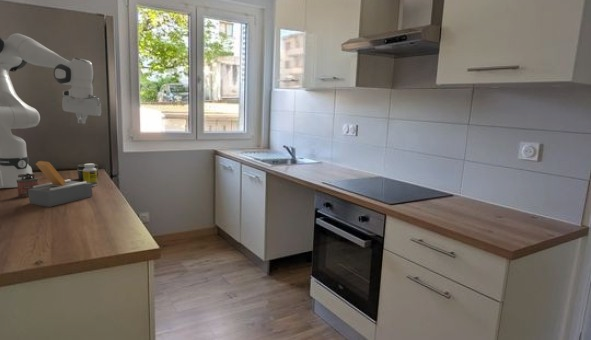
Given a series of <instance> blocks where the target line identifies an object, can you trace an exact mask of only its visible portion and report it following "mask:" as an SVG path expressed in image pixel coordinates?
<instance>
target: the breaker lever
mask: <svg viewBox="0 0 591 340" xmlns="http://www.w3.org/2000/svg"><path fill="white" fill-rule="evenodd" d="M35 165H36V166H37V168H38V169H39V170H40V171H41V172H42V173H43V175H44V176H45V177H46V178H47V179H48V181H50V183H52V184H53V185H59V186H64V185H65V184H66V182H65V180H66V179H64V178H63V176H61V175H60V173H59V172H58V171H57V170H56V168H55V167H54V166H53V165H52V163H51V162H49V161H43V160H39V161H37V162H36V163H35Z"/></svg>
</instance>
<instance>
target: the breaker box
mask: <svg viewBox="0 0 591 340" xmlns="http://www.w3.org/2000/svg"><path fill="white" fill-rule="evenodd" d="M64 180H65V182H66V184H65V185H64V186H59V185H53V184H52V183H51V182H47V183H42V184H38V185H36V186H33V189H28V192H29V196H28V201H29V205H30V204H31V205H36V206H41V207H42V206H43V207H48V208H50V207H55V206H59V205H62V204H67V203H70V202H75V201H79V200H80V201H81V200H84V199H86V198H87V199H88V198H91V197H93V188H92V187H93V186H92V184H91V183H87V182H86V181H85V182H83V181H75V180H72V179H68V178H67V179H64Z"/></svg>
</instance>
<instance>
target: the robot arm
mask: <svg viewBox="0 0 591 340" xmlns="http://www.w3.org/2000/svg"><path fill="white" fill-rule="evenodd" d="M27 63H28V64H31V65H33V66H37V67H43V68H52V69H54V70H53V78H54V79H55V81H56V82H57V83H58V84H61V85H64V86H65V85H66V86H71V88H69V89H66V90H62V96H63V97H62V100H61V101H62V105H61V107H62V110H63V112H68V113H72V114H75V116H76V118H77V124H82V125H85V124H86V123H87V119H88V117H89V116H95V117H101V115H102V103H101V98H100V97H99V96H98V95H94V93H93V92H94V87H93V83H94V80H95V74H94V69H93V68H94V67H93V64H92V62H91V61H90V60H89V59H85V58H81V57H73V58H72V60H70V59H67V58H65V57H63V56H61V55H60V54H58V53H56V52H55V51H53V50H51V49H49V48H48V47H46V46H45V45H43V44H41V43H40V42H38V41H37V40H35V39H33V38H32V37H30V36H27V35H24V34H22V33H17V32H16V33H12V34H11V35H9V36H8V38H7V39H2V38H1V37H0V189H5V188H6V189H9V188H10V189H11V188H18V186H17V181H16V180H18V179H22V177H18V175H19V174H26V173H29V174H33V169H32V166H31V165H29V163H30V161H29V160H30V159H29V156H28V152H27V151H28V150H27V143H26V141H25V140H24V139H23V138H22V137H20V136H17V135H15V134H13V133H12V129H13V130H17V129H29V128H35V127H37V126H38V125H39V124H40V121H41V115H40V113H39V111H38V110H37V108H35V107H32V106H30V105H28V104H27V103H26V102H24V101H23V100H22V99H21V97H19V95H18V94H17V92H16V90H15V88H14V85H13V82H12V80H11V78H10V72H12V73H13V72H16V71H18V70H20V69H22V68H24V67H25V66H26V65H27ZM31 177H32V176H31ZM24 179H25V177H24Z"/></svg>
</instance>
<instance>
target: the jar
mask: <svg viewBox="0 0 591 340" xmlns="http://www.w3.org/2000/svg"><path fill="white" fill-rule="evenodd" d="M84 164H85V163H83V164H82V163H81V164H78V165H77V166H76V167H77V168H76V169H77V177H78V179H79V180H80V181H83V169H84V168H85V167H84ZM94 164H95V167H94V168H96V170H97V179H98V177H99V165H98V164H96V163H94Z"/></svg>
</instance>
